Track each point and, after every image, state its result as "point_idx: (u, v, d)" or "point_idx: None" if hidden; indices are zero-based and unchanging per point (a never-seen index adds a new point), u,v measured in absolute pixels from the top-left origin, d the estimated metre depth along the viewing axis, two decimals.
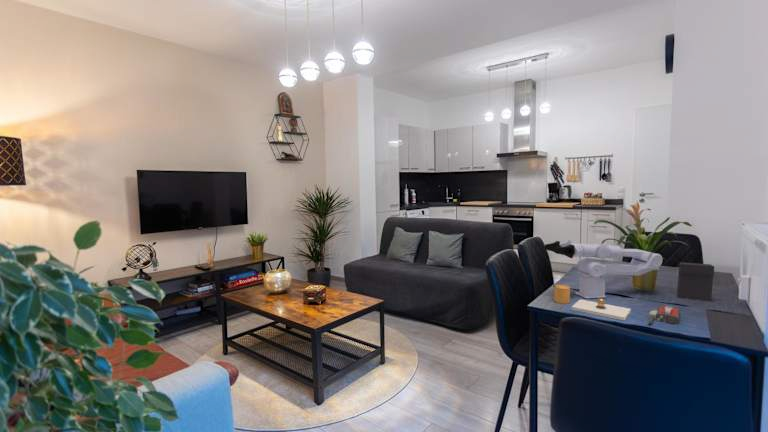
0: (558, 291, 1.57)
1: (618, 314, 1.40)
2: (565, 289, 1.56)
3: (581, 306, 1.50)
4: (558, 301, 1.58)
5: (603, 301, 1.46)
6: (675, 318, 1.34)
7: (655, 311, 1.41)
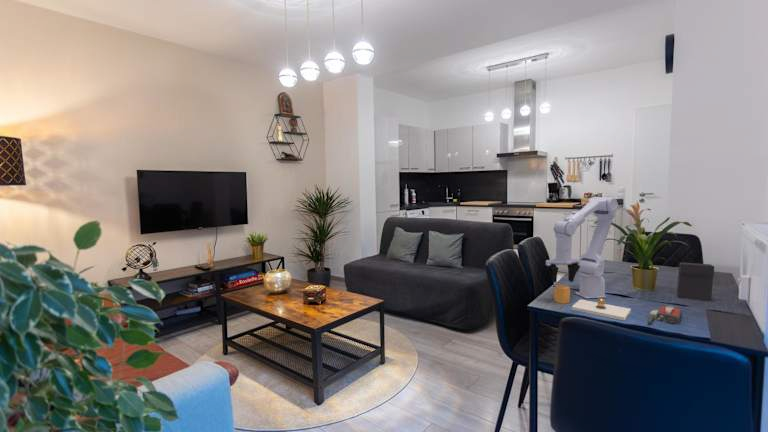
0: (558, 291, 1.57)
1: (618, 314, 1.40)
2: (565, 289, 1.56)
3: (581, 306, 1.50)
4: (558, 301, 1.58)
5: (603, 301, 1.46)
6: (675, 318, 1.34)
7: (656, 311, 1.41)
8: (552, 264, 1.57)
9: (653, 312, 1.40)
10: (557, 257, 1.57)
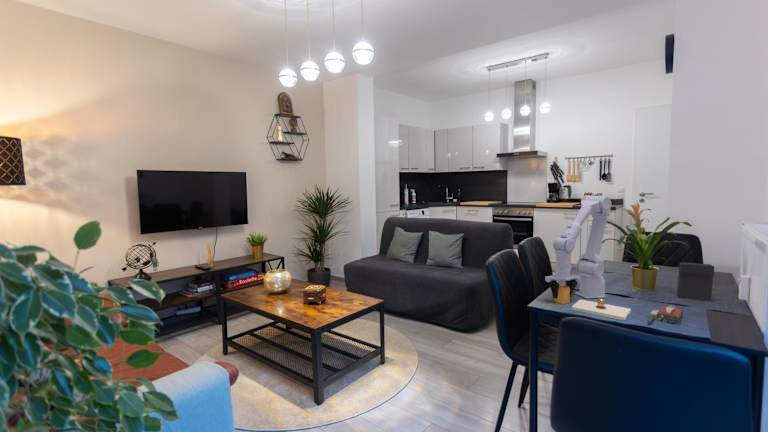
0: (558, 291, 1.57)
1: (618, 314, 1.40)
2: (565, 289, 1.56)
3: (581, 306, 1.50)
4: (558, 301, 1.58)
5: (603, 301, 1.46)
6: (676, 318, 1.34)
7: (656, 311, 1.41)
8: (551, 280, 1.57)
9: (653, 312, 1.40)
10: (556, 273, 1.58)
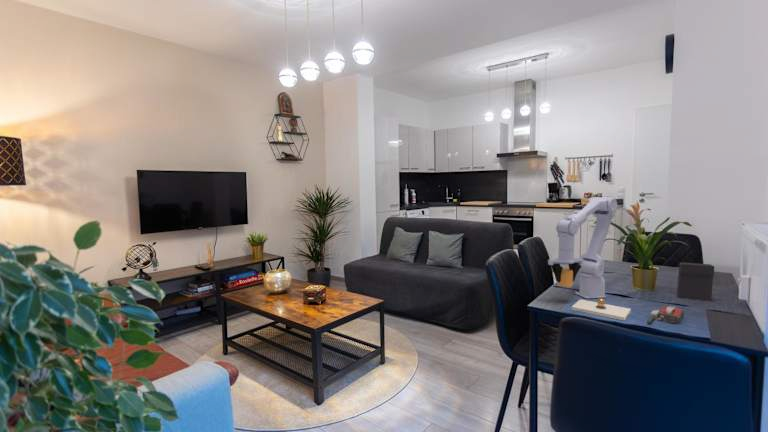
0: (561, 274, 1.56)
1: (618, 314, 1.40)
2: (568, 272, 1.55)
3: (581, 306, 1.50)
4: (561, 284, 1.56)
5: (603, 301, 1.46)
6: (676, 318, 1.34)
7: (657, 311, 1.41)
8: (554, 263, 1.56)
9: (654, 312, 1.40)
10: (560, 256, 1.56)
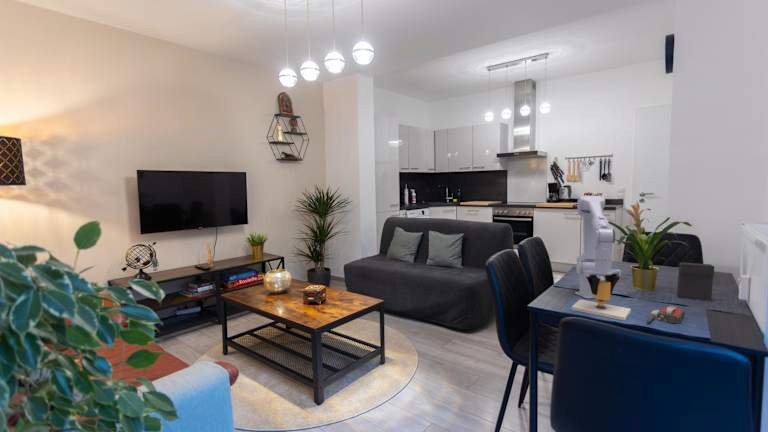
0: (598, 287, 1.45)
1: (618, 314, 1.40)
2: (606, 284, 1.44)
3: (581, 306, 1.50)
4: (598, 297, 1.45)
5: (603, 301, 1.46)
6: (676, 318, 1.34)
7: (657, 311, 1.41)
8: (591, 275, 1.45)
9: (654, 312, 1.40)
10: (596, 267, 1.45)
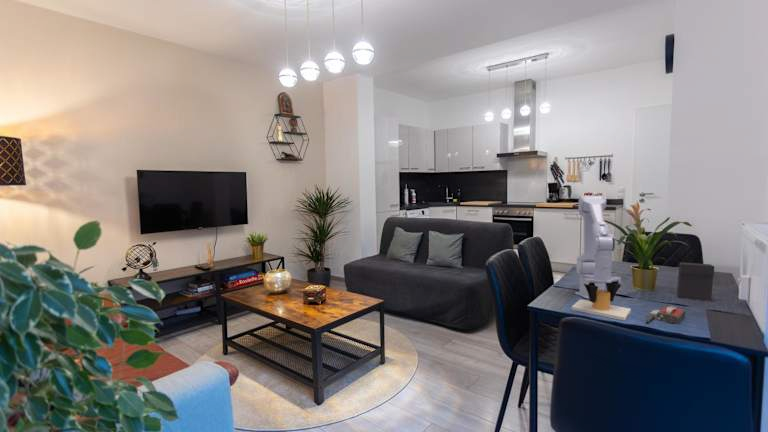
0: (598, 297, 1.45)
1: (618, 314, 1.40)
2: (605, 295, 1.44)
3: (581, 306, 1.50)
4: (597, 308, 1.46)
5: None
6: (675, 318, 1.34)
7: (658, 311, 1.42)
8: (591, 283, 1.45)
9: (654, 312, 1.41)
10: (596, 275, 1.46)
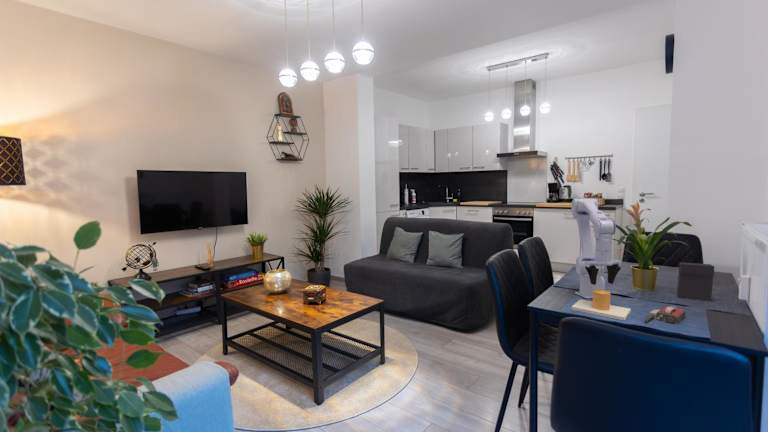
0: (598, 297, 1.45)
1: (618, 314, 1.40)
2: (605, 295, 1.44)
3: (581, 306, 1.50)
4: (597, 308, 1.46)
5: None
6: (674, 317, 1.34)
7: (657, 310, 1.42)
8: (592, 265, 1.50)
9: (654, 311, 1.41)
10: (597, 258, 1.50)
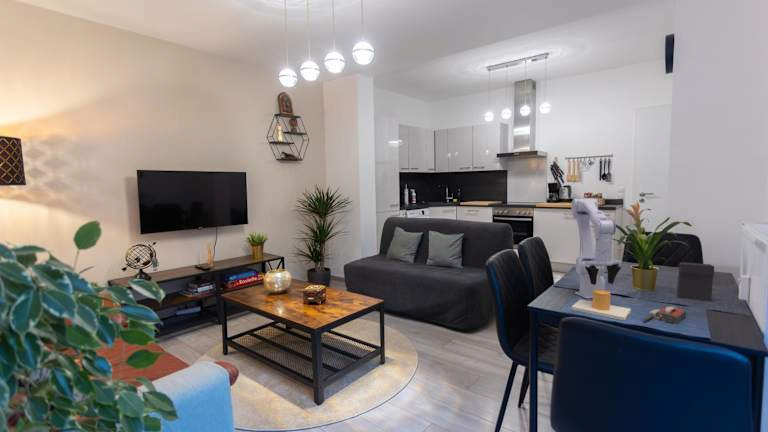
0: (598, 297, 1.45)
1: (618, 314, 1.40)
2: (605, 295, 1.44)
3: (581, 306, 1.50)
4: (597, 308, 1.46)
5: None
6: (674, 317, 1.34)
7: (657, 310, 1.42)
8: (592, 265, 1.50)
9: (653, 311, 1.41)
10: (597, 258, 1.50)
